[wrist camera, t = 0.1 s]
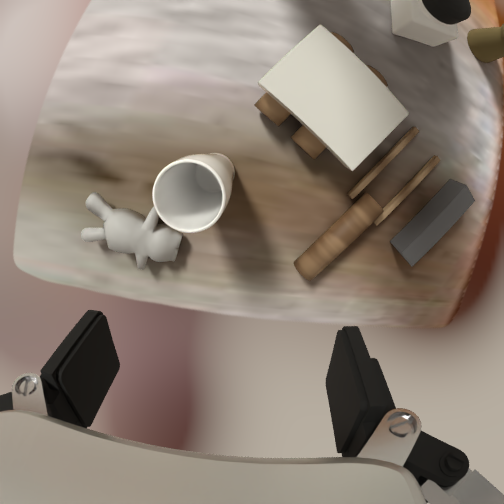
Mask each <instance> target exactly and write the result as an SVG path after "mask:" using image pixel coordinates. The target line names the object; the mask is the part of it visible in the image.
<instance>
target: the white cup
mask: <svg viewBox="0 0 504 504" xmlns="http://www.w3.org/2000/svg"><path fill="white" fill-rule="evenodd" d="M234 176H235V169H234V166H233V164H232V162H231V160H230V159H229V158H228V157H226V156H225V155H223V154H220V153H209V154H194V155H189V156H185V157H183V158H180V159H178V160H176V161H174V162H173V163H171V164H169V165H168V166H166V167H165V168H164V169H163V170H162V171H161V172H160V173H159V175H158V176H157V178H156V180H155V183H154V187H153V203H154V207H155V209H156V212H157V213H158V215H159V217H160V218H161V219H162V220H163V221H164V222H165V223H166V224H167V225H168V226H170V227H171V228H173V229H175V230H177V231H180V232H185V233H196V232H200V231H203V230H206V229H208V228H209V227H211V226H212V225H213V224H215V223H216V222H217V220H218V219H219V218H220V216H221V215H222V214H223V212H224V210H225V209H226V207H227V205H228V202H229V200H230V197H231V192H232V184H233V180H234Z"/></svg>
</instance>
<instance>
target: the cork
mask: <svg viewBox="0 0 504 504" xmlns="http://www.w3.org/2000/svg"><path fill="white" fill-rule="evenodd" d="M467 40H468V45H469V47H470V49H471V51H472V53H473V54H474V55H475V57H476V58H477V59H479V60H480V61H481V62H484V63H489V62H492V61H494V60H497V59H499V58H502V57H504V24H503V25H502V26H501V27H494V28H482V29H473V30H471V31H469V33H468V36H467Z"/></svg>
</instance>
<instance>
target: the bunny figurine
mask: <svg viewBox="0 0 504 504" xmlns="http://www.w3.org/2000/svg"><path fill="white" fill-rule="evenodd" d="M86 207H87V208H88V210H89V211H91V212H92V213H94V214H95V215H97V216H98V217H99V218H101V219H102V220H104V221H105V222H104V223H103V226H104V228H85V229H83V230H82V232H81V237H82V239H83V240H84V241H87V242H93V241H98V240H103V239H106V240H107V244H108V248H109V249H111V250H113V251H116V252H120V253H126V254H129V253H135V255H136V261H137V267H138V269H144V267H145V265H146V263H147V260H148V257H150V258H151V259H152V260H154V261H157V262H165V261H170V260H171V261H174V262H175V259H176V256H177V252H178V249H179V245H180V242H181V239H182V235H183V233H180V232H178V231H177V230H175V229H173V228H171V227H170V226H168V225H167V224H158V220H159V215H158V213H157V212H156V209H155V207H153V208H152V210H151V211H150V213H149V215H148V217H147V218H145V217H144V216H143V215H142V214H140V213H138V212H136V211H133V210H131V209H126V208H119V209H112V208H111V207H110V206H109V205H108V203H107V202H106V201H105V200H104V199H103V198H102V197H101V196H100V195H99V194H98V193H96V192H93V193H91V194H90V196H89V197H88V199H87V200H86Z"/></svg>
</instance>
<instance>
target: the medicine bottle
mask: <svg viewBox="0 0 504 504" xmlns="http://www.w3.org/2000/svg"><path fill="white" fill-rule="evenodd" d="M470 14H471V6H470V2H469V0H391V16H392V33H393V34H395V35H398V36H402V37H405V38H408V39H411V40H415V41H418V42H421V43H424V44H426V45H429V46H432V47H435V46H438V45H440V44H443V43H446V42H449V41H451V40H454V39H457V38H458V28H457V23H459V22H461V21H463V20H466V19H468V18H469V16H470Z"/></svg>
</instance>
